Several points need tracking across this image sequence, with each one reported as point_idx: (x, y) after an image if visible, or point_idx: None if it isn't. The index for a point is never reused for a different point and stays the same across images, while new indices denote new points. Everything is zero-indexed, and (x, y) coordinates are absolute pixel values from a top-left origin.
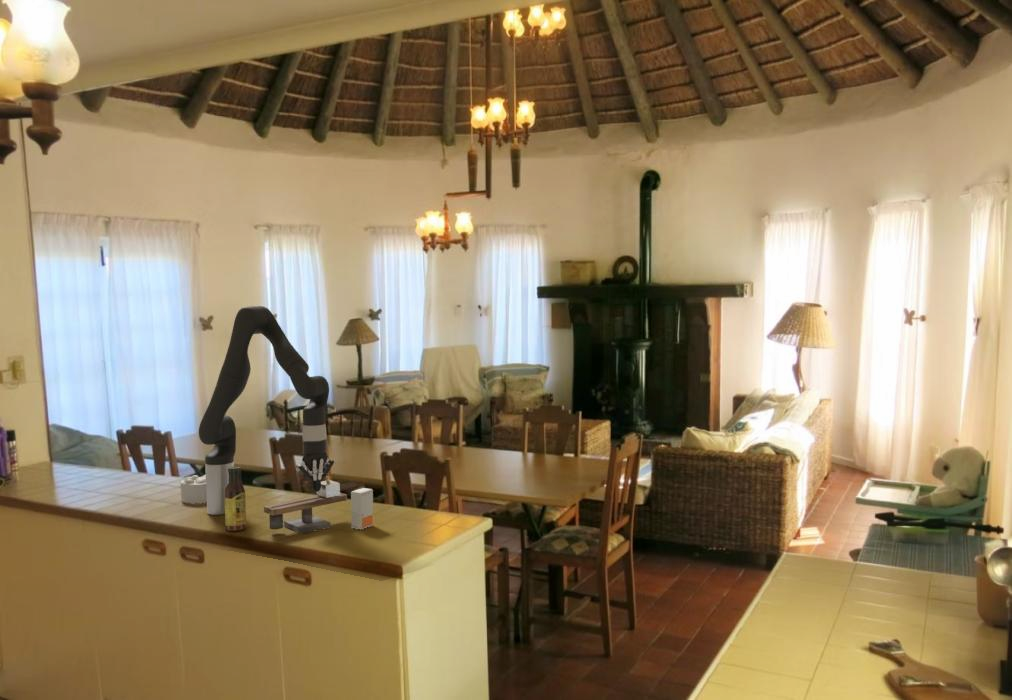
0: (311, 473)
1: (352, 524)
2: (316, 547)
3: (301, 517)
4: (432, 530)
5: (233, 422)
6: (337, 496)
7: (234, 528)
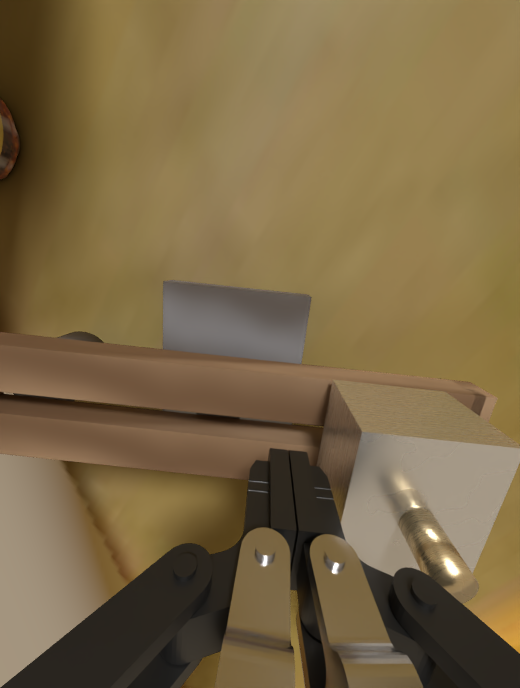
0: (253, 638)
1: None
2: (135, 552)
3: (254, 291)
4: None
5: None
6: None
7: None
